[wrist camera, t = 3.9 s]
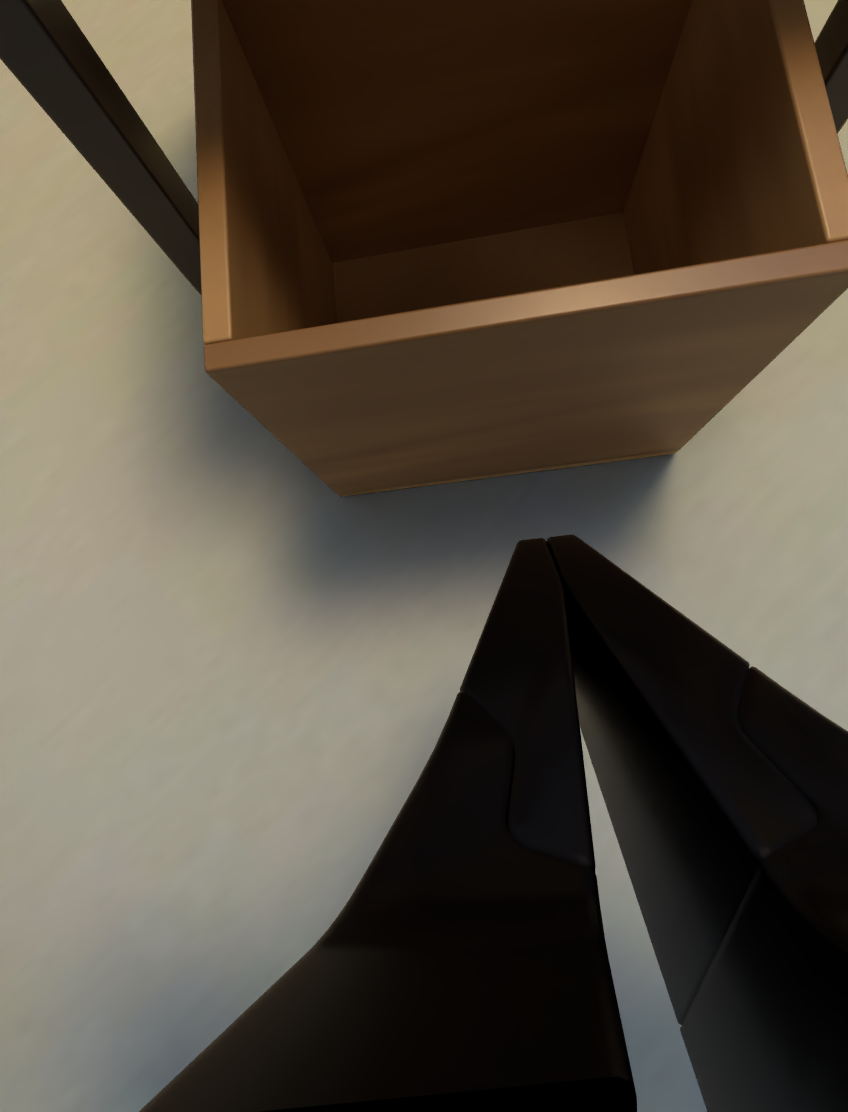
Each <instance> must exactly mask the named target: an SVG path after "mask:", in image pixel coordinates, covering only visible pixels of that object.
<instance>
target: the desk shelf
mask: <svg viewBox="0 0 848 1112" xmlns="http://www.w3.org/2000/svg"><path fill="white" fill-rule="evenodd" d="M814 44H815V48H816V52H817V56H818V60H819V64H820V68H821V72H822V76H823V80H824V84H825V88H826V92H827V96H828V99H829V103H830V107H831V111H832V115H833V119H834V123H835V127H836V131H837V134H838V132H839V131H840V129H841V128H842V126H843V125H844V124H845V122H846V121H847V119H848V0H838V2H837V3H836V5H835V7H834V9H833V11H832V12H831V14H830V16H829V18H828V20H827V21H826V23H825V25H824V27H823V29H822V31H821V32H820V34H819V36H818V38H817V40H816V41H815V43H814ZM0 59H1V60H2V61H3V62H4V64H5V65H6V66H7V67H8V68H9V69H10V71H11V72H12V73H13V74H14V75H15V77H16V78H17V79H18V80H19V81H20V82H21V84H22V85H23V86H24V87H25V88H26V90H27V91H28V92H29V93H30V94H31V95H32V97H33V98H34V99H35V100H36V101H37V103H38V104H39V105H40V106H41V107H42V108H43V110H44V111H45V112H46V113H47V114H48V115H49V117H50V118H51V119H52V120H53V121H54V123H55V124H56V125H57V126H58V127H59V128H60V130H61V131H62V132H63V133H64V134H65V136H66V137H67V138H68V139H69V140H70V141H71V143H72V144H73V145H74V146H75V147H76V149H77V150H78V151H79V152H80V153H81V154H82V156H83V157H84V158H85V159H86V160H87V161H88V163H89V164H90V165H91V166H92V167H93V169H94V170H95V171H96V172H97V173H98V174H99V176H100V177H101V178H102V179H103V180H104V182H105V183H106V184H107V185H108V186H109V187H110V189H111V190H112V191H113V192H114V193H115V195H116V196H117V197H118V198H119V199H120V200H121V202H122V203H123V204H124V205H125V206H126V208H127V209H128V210H129V211H130V212H131V213H132V215H133V216H134V217H135V218H136V219H137V220H138V222H139V223H140V224H141V225H142V226H143V228H144V229H145V230H146V231H147V232H148V233H149V235H150V236H151V237H152V238H153V239H154V241H155V242H156V243H157V244H158V245H159V246H160V248H161V249H162V250H163V251H164V252H165V254H166V255H167V256H168V257H169V258H170V259H171V261H172V262H173V263H174V264H175V265H176V267H177V268H178V269H179V270H180V271H181V272H182V274H183V275H184V276H185V277H186V278H187V279H188V281H189V282H190V283H191V284H192V285H193V287H194V288H195V289H196V290H197V291H198V292H199V294H200V295H201V296H202V289H201V261H200V234H199V206H198V203H197V201H196V200H195V199H194V197H193V196H192V194H191V193H190V191H189V190H188V188H187V187H186V185H185V184H184V182H183V181H182V179H181V178H180V176H179V175H178V173H177V172H176V170H175V169H174V167H173V166H172V164H171V163H170V161H169V160H168V158H167V157H166V155H165V154H164V153H163V151H162V150H161V148H160V147H159V145H158V144H157V142H156V141H155V139H154V138H153V136H152V135H151V133H150V132H149V130H148V129H147V127H146V126H145V124H144V123H143V121H142V120H141V118H140V117H139V115H138V114H137V112H136V111H135V109H134V108H133V107H132V105H131V104H130V102H129V101H128V99H127V98H126V96H125V95H124V93H123V92H122V90H121V89H120V87H119V86H118V84H117V83H116V81H115V80H114V78H113V77H112V75H111V74H110V72H109V71H108V69H107V68H106V66H105V65H104V63H103V62H102V60H101V59H100V58H99V56H98V55H97V53H96V52H95V50H94V49H93V47H92V46H91V44H90V43H89V41H88V40H87V38H86V37H85V35H84V34H83V32H82V31H81V29H80V28H79V26H78V25H77V23H76V22H75V20H74V19H73V17H72V16H71V14H70V13H69V12H68V10H67V9H66V7H65V6H64V4H63V3H62V1H61V0H0Z"/></svg>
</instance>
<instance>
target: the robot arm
mask: <svg viewBox="0 0 848 1112" xmlns="http://www.w3.org/2000/svg"><path fill="white" fill-rule="evenodd" d="M580 728H581V731H582V734H583V737H584V740H585V743H586V746H587V749H588V752H589V755H590V758H591V761H592V764H593V767H594V770H595V773H596V776H597V779H598V782H599V785H600V788H601V791H602V794H603V797H604V800H605V803H606V807H607V810H608V813H609V816H610V819H611V822H612V825H613V828H614V831H615V834H616V837H617V840H618V843H619V846H620V849H621V852H622V855H623V858H624V861H625V864H626V867H627V870H628V873H629V876H630V879H631V882H632V885H633V888H634V891H635V894H636V897H637V900H638V903H639V906H640V909H641V912H642V915H643V918H644V921H645V924H646V927H647V930H648V933H649V936H650V939H651V942H652V945H653V948H654V952H655V955H656V958H657V961H658V964H659V967H660V970H661V973H662V976H663V979H664V982H665V985H666V988H667V991H668V994H669V997H670V1000H671V1003H672V1006H673V1009H674V1012H675V1015H676V1018H677V1021H678V1023H679V1024H680V1025H681V1028H680V1030H681V1034H682V1037H683V1040H684V1043H685V1046H686V1049H687V1052H688V1055H689V1058H690V1061H691V1064H692V1067H693V1070H694V1073H695V1076H696V1079H697V1082H698V1085H699V1088H700V1091H701V1094H702V1097H703V1100H704V1103H705V1106H706V1109H707V1112H848V731H846V730H845V729H843V728H842V727H840V726H839V725H837V724H835V723H834V722H832V721H831V720H829V719H828V718H826V717H825V716H823V715H822V714H820V713H819V712H817V711H816V710H815V709H813V708H812V707H810V706H809V705H807V704H806V703H805V702H803V701H802V700H800V699H799V698H797V697H796V696H795V695H793V694H792V693H790V692H789V691H787V690H786V689H785V688H783V687H782V686H780V685H779V684H778V683H776V682H775V681H773V680H772V679H771V678H769V677H768V676H767V675H765V674H764V673H763V672H761V671H760V670H758V669H757V668H756V667H750V668H749V663H748V662H747V661H746V660H744V659H743V658H742V657H740V656H739V655H738V654H736V653H735V652H733V651H732V650H731V649H729V648H728V647H727V646H725V645H724V644H723V643H721V642H720V641H718V640H717V639H716V638H714V637H713V636H712V635H710V634H709V633H708V632H706V631H705V630H703V629H702V628H701V627H699V626H698V625H697V624H695V623H694V622H693V621H691V620H690V619H688V618H687V617H686V616H684V615H683V614H682V613H680V612H679V611H678V610H676V609H675V608H673V607H672V606H671V605H669V604H668V603H667V602H665V601H664V600H663V599H661V598H660V597H658V596H657V595H656V594H654V593H653V592H652V591H650V590H649V589H648V588H646V587H645V586H643V585H642V584H641V583H639V582H638V581H637V580H635V579H634V578H633V577H631V576H630V575H629V574H627V573H626V572H624V571H623V570H622V569H620V568H619V567H618V566H616V565H615V564H614V563H612V562H611V561H609V560H608V559H607V558H605V557H604V556H603V555H601V554H600V553H599V552H597V551H596V550H594V549H593V548H592V547H590V546H589V545H588V544H586V543H585V542H584V541H582V540H581V539H579V538H578V537H577V536H575V535H564V536H555V537H549V538H548V539H547V541H546V540H545V539H543V538H538V539H529V540H521V541H519V542H518V543H517V545H516V548H515V550H514V553H513V555H512V558H511V560H510V563H509V565H508V568H507V571H506V573H505V576H504V578H503V581H502V583H501V586H500V588H499V591H498V593H497V596H496V598H495V601H494V604H493V606H492V609H491V611H490V614H489V616H488V619H487V621H486V624H485V626H484V629H483V631H482V634H481V637H480V639H479V642H478V644H477V647H476V649H475V652H474V654H473V657H472V659H471V662H470V665H469V667H468V670H467V672H466V675H465V677H464V680H463V682H462V685H461V687H460V693H458V694H457V697H456V699H455V702H454V704H453V707H452V709H451V712H450V714H449V717H448V719H447V721H446V724H445V726H444V728H443V730H442V733H441V735H440V737H439V739H438V742H437V744H436V746H435V748H434V750H433V752H432V754H431V756H430V758H429V760H428V762H427V764H426V766H425V767H424V769H423V771H422V773H421V775H420V777H419V779H418V781H417V783H416V785H415V786H414V788H413V790H412V792H411V793H410V795H409V797H408V799H407V800H406V802H405V804H404V806H403V807H402V809H401V811H400V813H399V814H398V816H397V818H396V820H395V821H394V823H393V825H392V827H391V828H390V830H389V832H388V834H387V835H386V837H385V839H384V841H383V842H382V844H381V846H380V848H379V849H378V851H377V853H376V855H375V856H374V858H373V860H372V862H371V863H370V865H369V867H368V869H367V870H366V872H365V874H364V876H363V877H362V879H361V881H360V882H359V884H358V886H357V887H356V889H355V891H354V892H353V894H352V896H351V897H350V899H349V901H348V902H347V903H346V905H345V906H344V908H343V909H342V911H341V912H340V914H339V915H338V917H337V918H336V919H335V921H334V922H333V923H332V925H331V926H330V927H329V929H328V930H327V931H326V932H325V934H324V935H323V936H322V937H321V938H320V939H319V940H318V941H317V943H316V944H315V945H314V946H313V947H312V948H311V949H310V950H309V951H308V952H307V953H306V954H305V955H304V956H303V957H302V958H301V959H300V960H299V961H298V962H297V963H296V964H295V965H293V966H292V967H291V968H290V969H289V970H288V971H287V972H286V973H285V974H284V975H283V976H282V977H281V978H280V979H279V980H278V981H277V982H275V983H274V984H273V985H272V986H271V987H270V988H269V989H268V990H267V991H266V992H265V993H264V994H263V995H262V996H261V997H260V998H259V999H258V1000H256V1001H255V1002H254V1003H253V1004H252V1005H251V1006H250V1007H249V1008H248V1009H247V1010H246V1011H245V1012H244V1013H243V1014H242V1015H241V1016H240V1017H239V1018H237V1019H236V1020H235V1021H234V1022H233V1023H232V1024H231V1025H230V1026H229V1027H228V1028H227V1029H226V1030H225V1031H224V1032H223V1033H222V1034H221V1035H219V1036H218V1037H217V1038H216V1039H215V1040H214V1041H213V1042H212V1043H211V1044H210V1045H209V1046H208V1047H207V1048H206V1049H205V1050H204V1051H203V1052H202V1053H200V1054H199V1055H198V1056H197V1057H196V1058H195V1059H194V1060H193V1061H192V1062H191V1063H190V1064H189V1065H188V1066H187V1067H186V1068H185V1069H184V1070H183V1071H181V1072H180V1073H179V1074H178V1075H177V1076H176V1077H175V1078H174V1079H173V1080H172V1081H171V1082H170V1083H169V1084H168V1085H167V1086H166V1087H165V1088H163V1089H162V1090H161V1091H160V1092H159V1093H158V1094H157V1095H156V1096H155V1097H154V1098H153V1099H152V1100H151V1101H150V1102H149V1103H148V1104H147V1105H146V1106H144V1107H143V1108H142V1109H141V1110H140V1111H139V1112H637V1096H636V1092H635V1087H634V1082H633V1077H632V1072H631V1067H630V1062H629V1057H628V1052H627V1047H626V1042H625V1038H624V1033H623V1028H622V1023H621V1018H620V1013H619V1008H618V1003H617V998H616V993H615V988H614V984H613V979H612V974H611V969H610V964H609V959H608V954H607V948H606V943H605V937H604V930H603V923H602V916H601V910H600V902H599V894H598V886H597V877H596V874H595V859H594V850H593V841H592V832H591V823H590V814H589V805H588V796H587V787H586V778H585V769H584V760H583V751H582V743H581V734H580Z"/></svg>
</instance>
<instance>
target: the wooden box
mask: <svg viewBox="0 0 848 1112" xmlns="http://www.w3.org/2000/svg"><path fill="white" fill-rule="evenodd" d="M191 10H192V38H193V66H194V94H195V122H196V150H197V178H198V206H199V234H200V261H201V289H202V317H203V342H204V344H205V346H204V364H205V371H206V373H207V374H208V375H209V376H210V377H211V378H212V379H213V380H215V381H216V382H217V383H218V384H219V385H220V386H221V387H222V388H223V389H224V390H225V391H226V392H227V393H229V394H230V395H231V396H232V397H233V398H234V399H235V400H236V401H237V402H238V403H239V404H240V405H242V406H243V407H244V408H245V409H246V410H247V411H248V412H249V413H250V414H251V415H252V416H253V417H254V418H256V419H257V420H258V421H259V422H260V423H261V424H262V425H263V426H264V427H265V428H266V429H267V430H268V431H270V432H271V433H272V434H273V435H274V436H275V437H276V438H277V439H278V440H279V441H280V442H281V443H283V444H284V445H285V446H286V447H287V448H288V449H289V450H290V451H291V452H292V453H293V454H294V455H295V456H297V457H298V458H299V459H300V460H301V461H302V462H303V463H304V464H305V465H306V466H307V467H308V468H309V469H311V470H312V471H313V472H314V473H315V474H316V475H317V476H318V477H319V478H320V479H321V480H322V481H323V482H325V483H326V484H327V485H328V486H329V487H330V488H331V489H332V490H333V491H334V492H335V493H336V494H338V495H339V496H341V497H342V496H350V495H358V494H366V493H373V492H381V491H389V490H397V489H405V488H412V487H420V486H428V485H436V484H443V483H451V482H459V481H467V480H474V479H482V478H490V477H498V476H505V475H513V474H521V473H529V472H537V471H544V470H552V469H560V468H568V467H575V466H583V465H591V464H599V463H606V462H614V461H622V460H630V459H637V458H645V457H653V456H661V455H669V454H675V453H676V452H677V451H678V450H680V449H681V448H682V447H683V446H684V445H685V444H686V443H687V442H688V441H689V440H690V439H691V438H692V437H693V436H694V435H695V434H696V433H697V432H698V431H700V430H701V429H702V428H703V427H704V426H705V425H706V424H707V423H708V422H709V421H710V420H711V419H712V418H713V417H714V416H715V415H716V414H717V413H718V412H719V411H720V410H721V409H722V408H723V407H725V406H726V405H727V404H728V403H729V402H730V401H731V400H732V399H733V398H734V397H735V396H736V395H737V394H738V393H739V392H740V391H741V390H742V389H743V388H744V387H745V386H746V385H747V384H748V383H750V382H751V381H752V380H753V379H754V378H755V377H756V376H757V375H758V374H759V373H760V372H761V371H762V370H763V369H764V368H765V367H766V366H767V365H768V364H769V363H770V362H771V361H772V360H774V359H775V358H776V357H777V356H778V355H779V354H780V353H781V352H782V351H783V350H784V349H785V348H786V347H787V346H788V345H789V344H790V343H791V342H792V341H793V340H794V339H795V338H796V337H797V336H799V335H800V334H801V333H802V332H803V331H804V330H805V329H806V328H807V327H808V326H809V325H810V324H811V323H812V322H813V321H814V320H815V319H816V318H817V317H818V316H819V315H820V314H821V313H822V312H824V311H825V310H826V309H827V308H828V307H829V306H830V305H831V304H832V303H833V302H834V301H835V300H836V299H837V298H838V297H839V296H840V295H841V294H842V293H843V292H844V291H845V290H846V289H847V288H848V174H847V171H846V167H845V163H844V159H843V155H842V151H841V147H840V143H839V139H838V135H837V131H836V127H835V123H834V119H833V115H832V111H831V107H830V103H829V99H828V96H827V92H826V88H825V84H824V80H823V76H822V72H821V68H820V64H819V60H818V56H817V52H816V48H815V44H814V40H813V36H812V32H811V28H810V24H809V21H808V17H807V13H806V9H805V5H804V1H803V0H191Z"/></svg>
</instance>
